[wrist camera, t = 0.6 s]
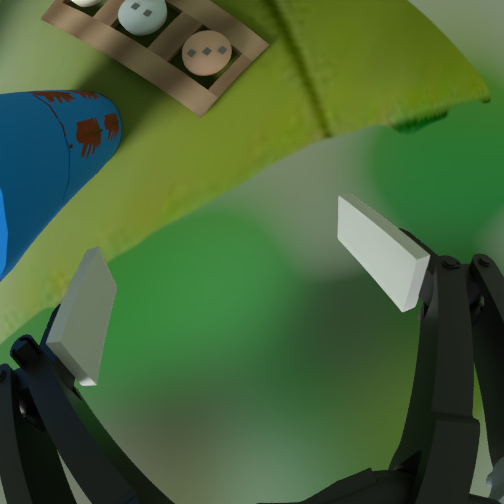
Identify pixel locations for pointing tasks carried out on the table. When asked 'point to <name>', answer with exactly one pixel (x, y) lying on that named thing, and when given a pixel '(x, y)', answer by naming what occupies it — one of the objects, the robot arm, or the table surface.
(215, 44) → the button three
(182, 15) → the board
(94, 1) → the button one
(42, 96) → the thermos
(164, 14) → the button two
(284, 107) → the table surface
